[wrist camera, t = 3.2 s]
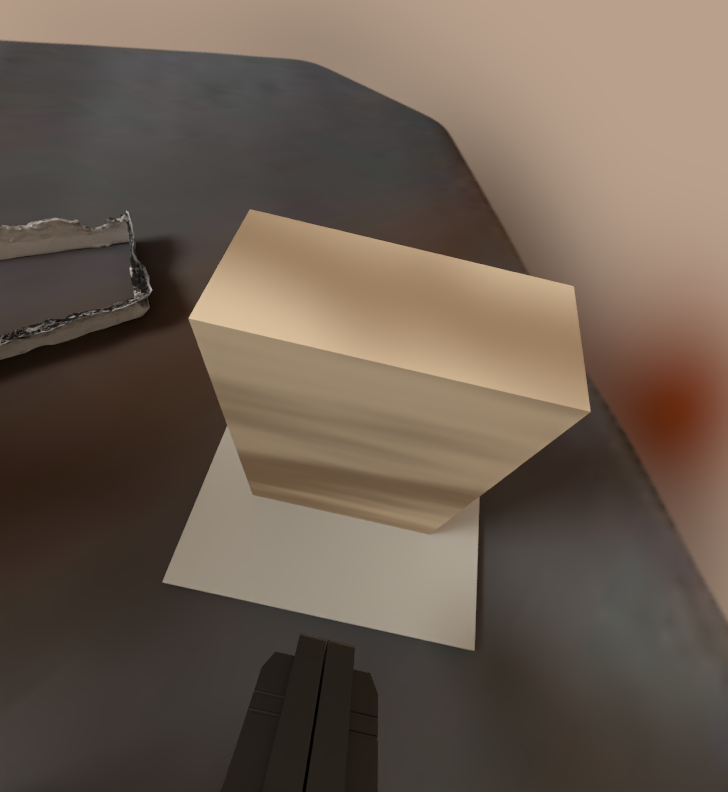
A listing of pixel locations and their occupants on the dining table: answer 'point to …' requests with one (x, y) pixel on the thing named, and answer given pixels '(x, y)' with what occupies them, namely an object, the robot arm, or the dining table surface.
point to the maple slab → (383, 370)
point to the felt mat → (328, 560)
